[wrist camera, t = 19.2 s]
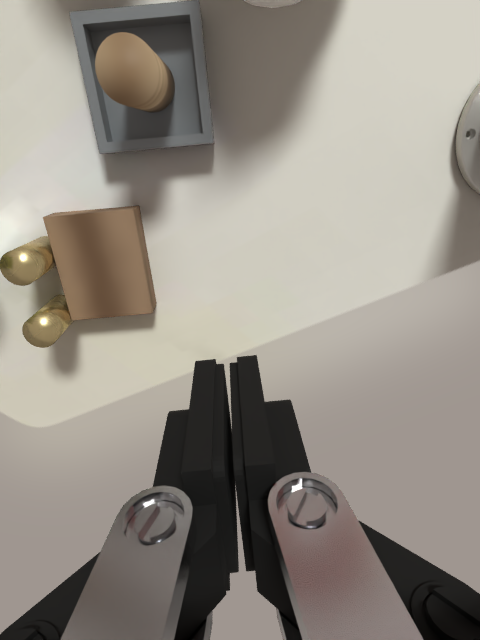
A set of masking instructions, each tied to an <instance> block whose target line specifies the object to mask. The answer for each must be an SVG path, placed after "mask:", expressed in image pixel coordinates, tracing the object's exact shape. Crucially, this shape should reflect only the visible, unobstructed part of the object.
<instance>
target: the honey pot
mask: <svg viewBox="0 0 480 640" xmlns="http://www.w3.org/2000/svg"><path fill="white" fill-rule="evenodd" d="M243 1H245V2H247V3H249V4H251V5H254V6H261V7H268V8H278V7H283V6H288V5H293V4H296V3H298V2H300V1H301V0H243Z"/></svg>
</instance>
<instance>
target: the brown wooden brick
mask: <svg viewBox="0 0 480 640" xmlns="http://www.w3.org/2000/svg"><path fill="white" fill-rule="evenodd" d="M43 219H44V223H45V226H46V230H47V234H48V237H49V241H50V244H51V248H52V251H53V255H54V259H55V262H56V266H57V269H58V273H59V276H60V280H61V284H62V287H63V291H64V294H65V298H66V301H67V305H68V309H69V312H70V316H71V319H72V320H81V319H92V318H104V317H115V316H126V315H138V314H149V313H153V311H154V308H155V306H156V298H155V292H154V287H153V281H152V275H151V270H150V264H149V259H148V253H147V247H146V242H145V236H144V230H143V225H142V219H141V214H140V208H139V206H130V207H118V208H106V209H95V210H83V211H71V212H60V213H53V214H50V215H48V216H45V217H43Z"/></svg>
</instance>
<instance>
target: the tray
mask: <svg viewBox="0 0 480 640" xmlns="http://www.w3.org/2000/svg"><path fill="white" fill-rule="evenodd" d="M69 14H70V18H71V23H72V28H73V32H74V37H75V42H76V46H77V51H78V56H79V60H80V65H81V70H82V74H83V79H84V84H85V88H86V93H87V97H88V102H89V107H90V111H91V116H92V121H93V125H94V130H95V135H96V139H97V144H98V149H99V153H100V154H109V153H119V152H130V151H140V150H151V149H162V148H172V147H183V146H193V145H204V144H214V136H213V126H212V116H211V107H210V97H209V87H208V77H207V68H206V58H205V48H204V39H203V29H202V19H201V10H200V3H199V0H193V1H182V2H171V3H160V4H150V5H139V6H128V7H117V8H106V9H95V10H85V11H74V12H69ZM118 32H127V33H131V34H134V35H136V36H138V37H140V38H141V39H142V40H143V41H144V42H145V43H146V44H147V45H148V46H149V47H150V48H151V49H152V50H153V51H154V52H155V53H156V54H157V55H158V56H159V57H160V59H161V60H162V61H163V62H164V63H165V64H166V65H167V66H168V67H169V69H170V71H171V72H172V75H173V77H174V82H175V93H174V97H173V99H172V101H171V103H170V104H169V105H168V106H167V107H166V108H165V109H164V110H162V111H159V112H147V111H143V110H140V109H136V108H133V107H129V106H125V105H122V104H119V103H117V102H115V101H114V100H112V99H111V98H110V97H109V96H108V95H107V94H106V93H105V92H104V90H103V89H102V87H101V85H100V83H99V81H98V78H97V75H96V70H95V59H96V54H97V51H98V48H99V46H100V45H101V43H102V42H103V41H104V40H105V39H106V38H107V37H108V36H110V35H112V34H114V33H118Z"/></svg>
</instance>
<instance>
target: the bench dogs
mask: <svg viewBox="0 0 480 640" xmlns="http://www.w3.org/2000/svg"><path fill="white" fill-rule="evenodd" d="M54 267H56V262H55V259H54V255H53V251H52V248H51V244H50V241H49V237H48V236H43V237H40V238H37V239H35V240H33V241H31V242H29V243H27V244H25V245H22V246H20V247H18V248H16V249H14V250H12V251H9V252H7V253H6V254H4V255H3V256H2V258H1V260H0V269H1V272H2V274H3V275H4V277H5V278H6V279H7V280H8V281H10V282H11V283H13V284H16V285H21V286H24V285H29V284H31V283H32V282H34V281H35V280H37V279H38V278H39V277H41V276H42V275H44V274H45V273H47V272H48V271H50V270H51V269H53V268H54ZM73 321H74V320H72V319H71V316H70V312H69V309H68V305H67V301H66V298H65V295H57V296H55V297H54V298H53V299H51V300H50V301H49V302H48V303H47V304H46V305H45V306H43V307H42V308H41V309H40V310H39V311H38V312H36V313H35V314H34V315H33V316H32V317H31V318H29V319H28V320H27V321H26V322H25V323H24V325H23V329H22V331H23V335H24V337H25V339H26V340H27V341H28V342H29V343H30V344H32V345H34V346H36V347H41V348H45V347H49V346H51V345H53V344H54V343H55V341H56V340H57V339H58V338H59V337H60V336H61V335H62V334H63V332H64V331H65V330H66V329H67V328H68V327H69V326H70V324H71V323H72V322H73Z"/></svg>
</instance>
